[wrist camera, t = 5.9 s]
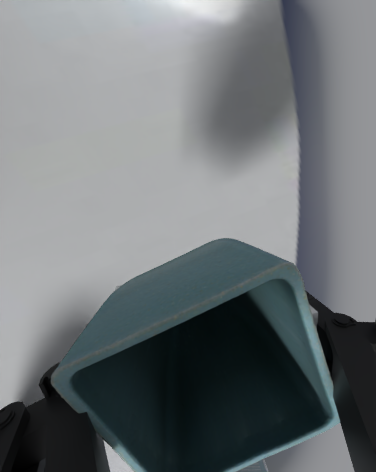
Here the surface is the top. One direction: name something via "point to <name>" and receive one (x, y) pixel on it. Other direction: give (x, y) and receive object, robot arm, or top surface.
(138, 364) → the flower pot
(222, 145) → the top surface
